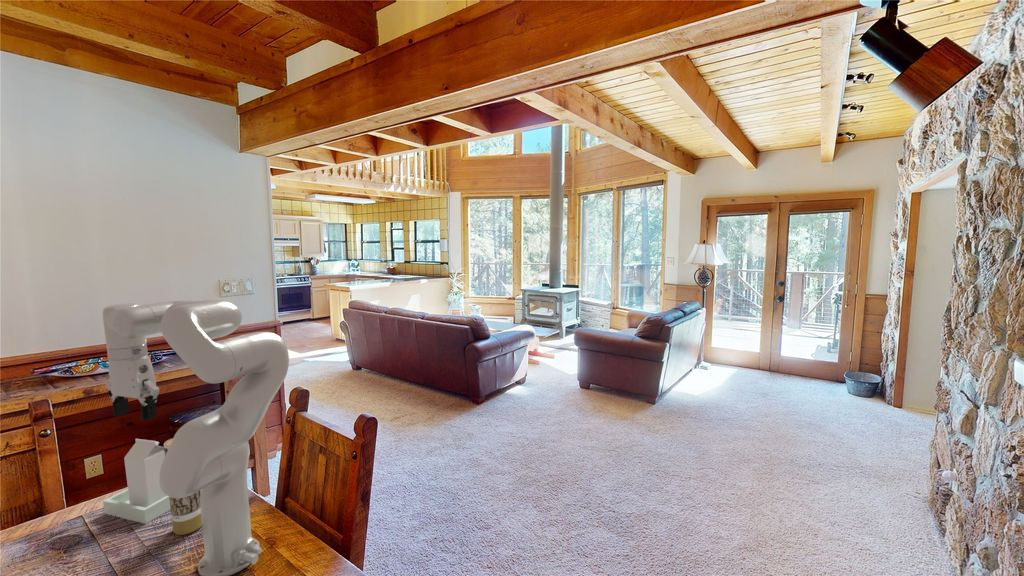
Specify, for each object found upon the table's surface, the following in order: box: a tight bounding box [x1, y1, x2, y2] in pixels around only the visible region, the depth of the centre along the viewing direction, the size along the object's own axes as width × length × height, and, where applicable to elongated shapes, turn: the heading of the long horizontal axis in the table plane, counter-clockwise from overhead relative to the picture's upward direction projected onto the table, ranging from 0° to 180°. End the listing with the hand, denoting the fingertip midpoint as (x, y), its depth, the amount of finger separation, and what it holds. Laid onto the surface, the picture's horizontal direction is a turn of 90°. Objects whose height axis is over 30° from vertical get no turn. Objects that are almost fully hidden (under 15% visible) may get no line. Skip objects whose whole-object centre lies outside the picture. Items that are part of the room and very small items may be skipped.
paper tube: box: [163, 437, 202, 536], centre depth 114 cm, size 7×7×25 cm
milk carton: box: [123, 438, 167, 508], centre depth 124 cm, size 7×7×19 cm
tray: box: [102, 488, 171, 525], centre depth 126 cm, size 16×14×4 cm
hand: (135, 416), depth 110 cm, fingers open, 9 cm apart
